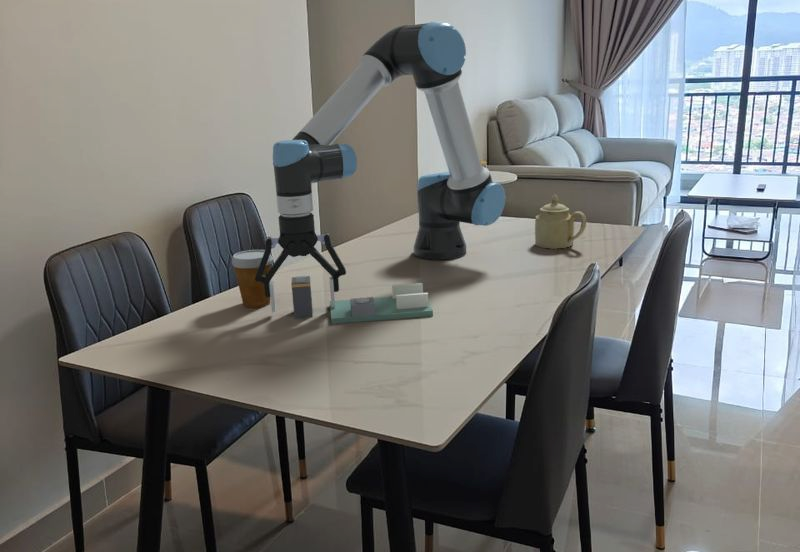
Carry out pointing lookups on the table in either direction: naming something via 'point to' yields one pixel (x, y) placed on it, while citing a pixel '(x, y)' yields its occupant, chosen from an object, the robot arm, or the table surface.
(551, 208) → the pale yellow ceramic pot
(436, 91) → the robot arm
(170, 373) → the table surface
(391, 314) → the board
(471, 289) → the table surface
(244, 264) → the disposable coffee cup
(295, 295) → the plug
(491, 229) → the table surface
